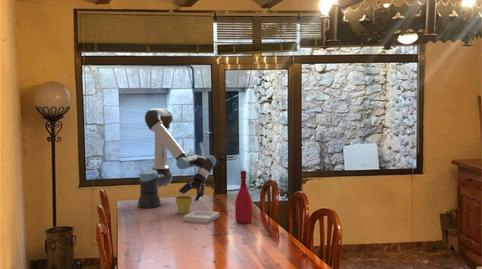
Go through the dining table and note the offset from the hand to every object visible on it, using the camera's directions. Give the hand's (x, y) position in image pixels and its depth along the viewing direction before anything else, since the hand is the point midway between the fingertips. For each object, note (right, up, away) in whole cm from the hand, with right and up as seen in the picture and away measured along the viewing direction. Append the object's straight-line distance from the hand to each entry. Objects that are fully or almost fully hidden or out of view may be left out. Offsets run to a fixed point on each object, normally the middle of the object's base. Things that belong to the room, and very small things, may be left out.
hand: (184, 203), depth 324 cm
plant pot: (-1, -6, +1) cm, 6 cm away
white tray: (+12, -7, -17) cm, 22 cm away
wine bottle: (+37, -8, -24) cm, 45 cm away
